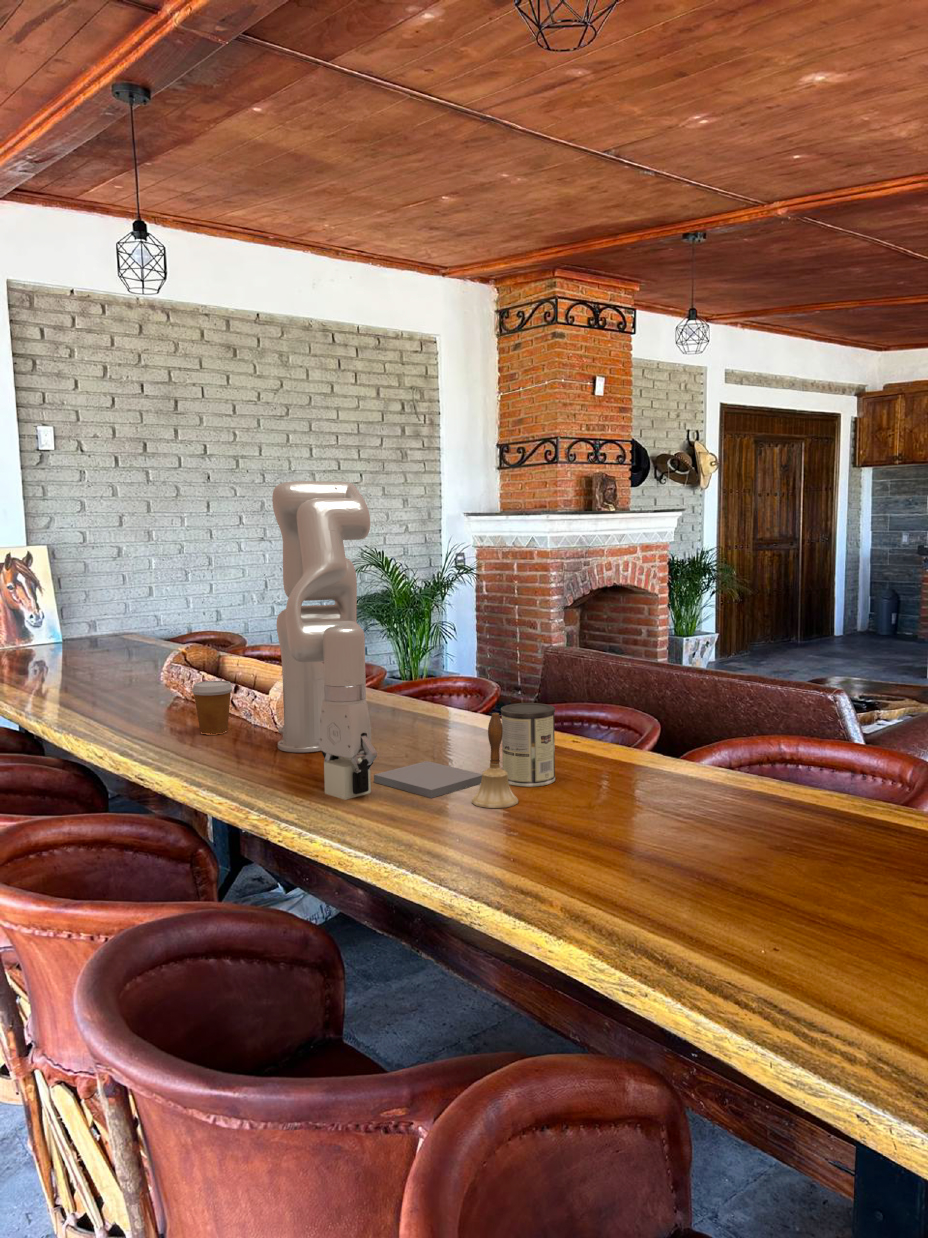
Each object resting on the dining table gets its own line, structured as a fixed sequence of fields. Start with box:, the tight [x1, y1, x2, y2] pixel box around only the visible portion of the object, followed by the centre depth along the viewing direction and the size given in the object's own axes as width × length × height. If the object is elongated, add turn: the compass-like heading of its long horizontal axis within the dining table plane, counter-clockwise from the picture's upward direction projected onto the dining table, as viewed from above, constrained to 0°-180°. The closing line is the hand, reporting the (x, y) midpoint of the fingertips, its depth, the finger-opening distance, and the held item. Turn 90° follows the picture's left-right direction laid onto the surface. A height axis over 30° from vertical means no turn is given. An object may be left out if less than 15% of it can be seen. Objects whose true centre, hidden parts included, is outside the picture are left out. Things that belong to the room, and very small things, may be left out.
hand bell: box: [471, 712, 519, 809], centre depth 166 cm, size 8×8×16 cm
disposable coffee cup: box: [191, 680, 233, 734], centre depth 226 cm, size 10×10×12 cm
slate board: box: [373, 760, 482, 799], centre depth 180 cm, size 16×14×2 cm
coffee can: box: [500, 702, 556, 788], centre depth 180 cm, size 10×10×14 cm
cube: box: [323, 757, 372, 801], centre depth 174 cm, size 6×6×6 cm
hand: (347, 788), depth 174 cm, fingers open, 6 cm apart
